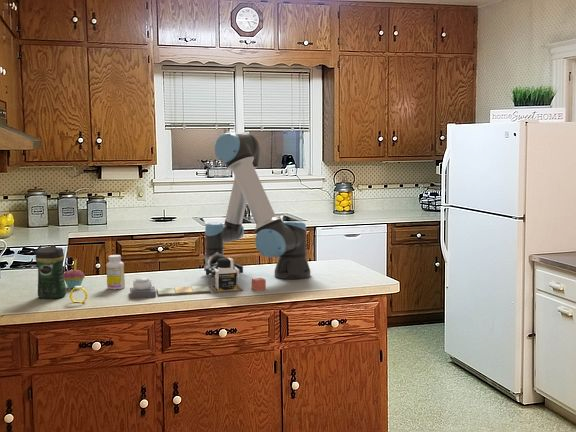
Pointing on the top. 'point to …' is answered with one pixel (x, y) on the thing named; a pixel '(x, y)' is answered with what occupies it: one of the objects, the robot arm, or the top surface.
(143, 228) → the top surface
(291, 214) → the top surface
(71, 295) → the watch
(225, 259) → the medicine bottle
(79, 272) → the cupcake
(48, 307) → the top surface
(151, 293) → the popper base
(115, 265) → the supplement bottle
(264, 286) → the die
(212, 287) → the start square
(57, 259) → the coffee jar
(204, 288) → the track
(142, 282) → the dome
